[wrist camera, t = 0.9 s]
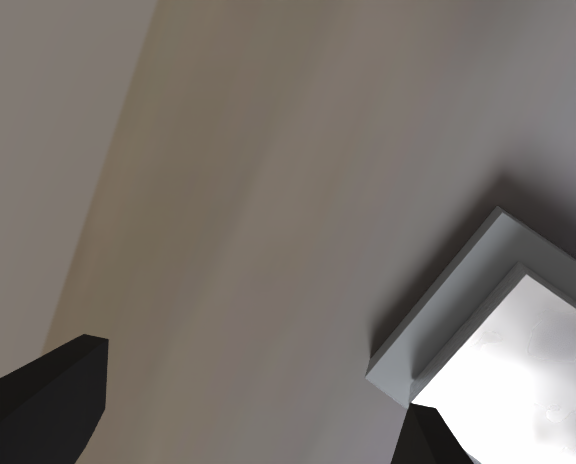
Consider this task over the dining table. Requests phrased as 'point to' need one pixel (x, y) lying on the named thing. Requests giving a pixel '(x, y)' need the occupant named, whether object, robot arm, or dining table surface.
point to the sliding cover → (510, 375)
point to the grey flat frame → (465, 298)
